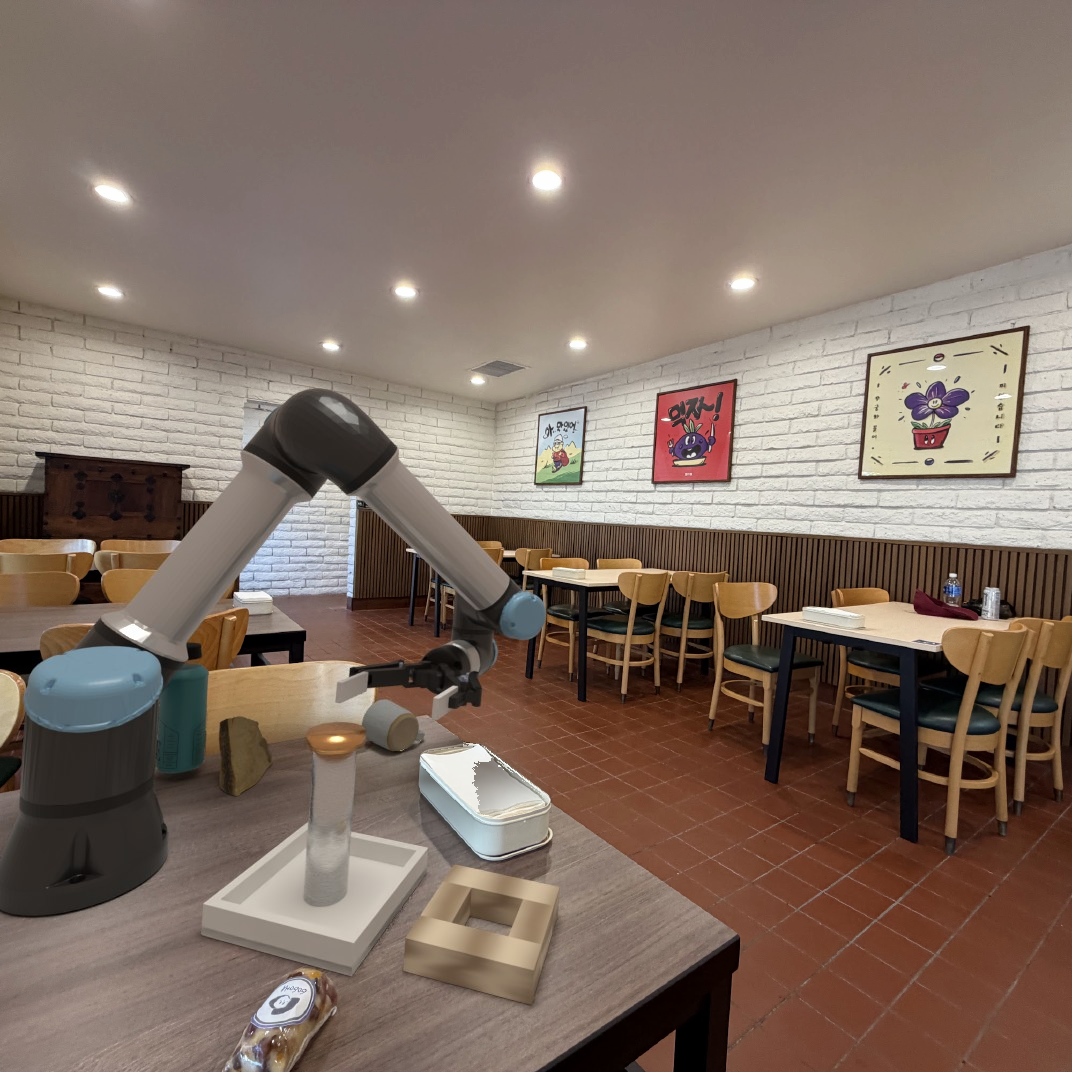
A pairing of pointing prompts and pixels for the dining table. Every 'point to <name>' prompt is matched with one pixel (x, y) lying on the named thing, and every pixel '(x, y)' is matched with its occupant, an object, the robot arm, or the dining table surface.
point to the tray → (307, 931)
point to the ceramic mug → (391, 726)
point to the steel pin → (330, 810)
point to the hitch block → (484, 933)
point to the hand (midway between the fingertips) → (385, 700)
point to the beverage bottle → (183, 717)
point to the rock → (241, 754)
